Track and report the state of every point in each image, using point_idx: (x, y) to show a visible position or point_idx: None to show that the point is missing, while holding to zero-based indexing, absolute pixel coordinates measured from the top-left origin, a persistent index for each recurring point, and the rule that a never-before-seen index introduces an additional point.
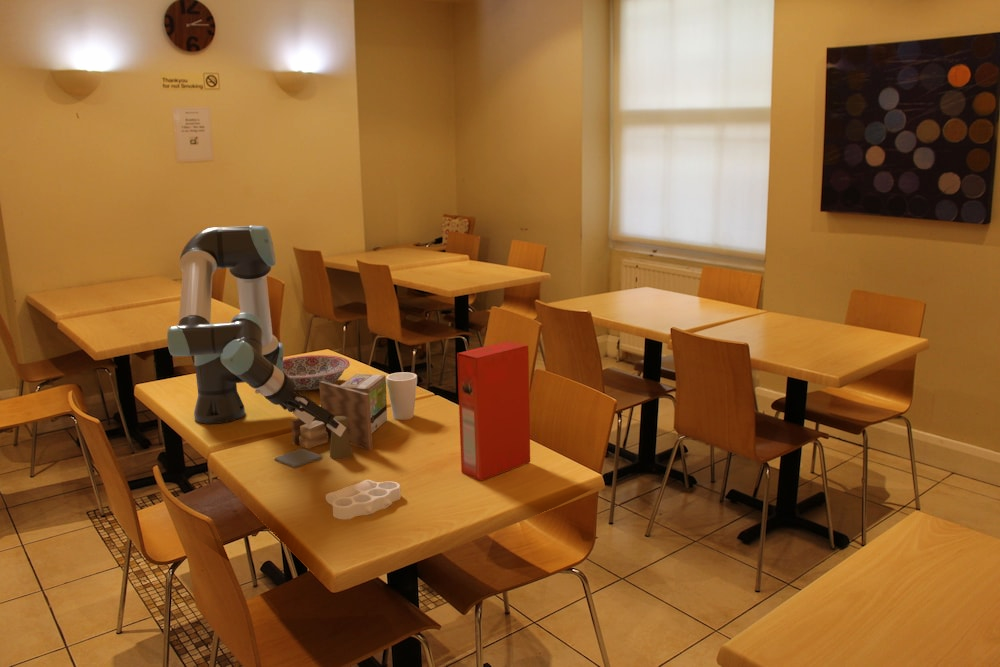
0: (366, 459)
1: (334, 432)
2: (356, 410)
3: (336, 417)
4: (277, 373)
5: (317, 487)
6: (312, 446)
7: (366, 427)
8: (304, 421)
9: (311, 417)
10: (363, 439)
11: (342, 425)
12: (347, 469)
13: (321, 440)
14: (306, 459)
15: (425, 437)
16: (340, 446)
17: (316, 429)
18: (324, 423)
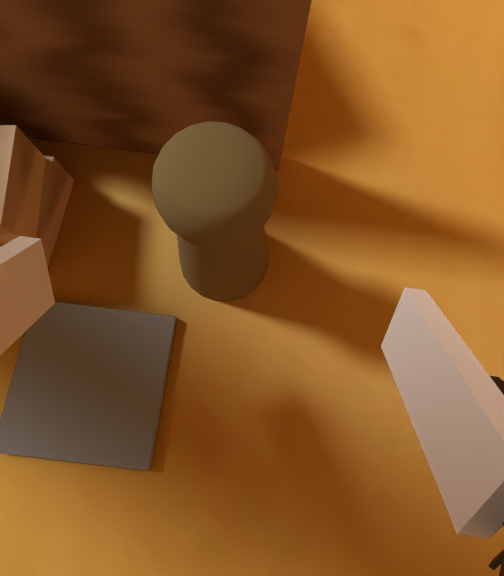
0: (337, 239)
1: (397, 383)
2: (202, 14)
3: (201, 172)
4: None
5: (403, 572)
6: (52, 250)
7: (281, 99)
8: (17, 337)
9: (27, 266)
10: None
11: (440, 316)
12: (354, 351)
13: (58, 201)
14: (144, 383)
15: (354, 6)
16: (253, 267)
17: (18, 193)
18: (475, 533)
